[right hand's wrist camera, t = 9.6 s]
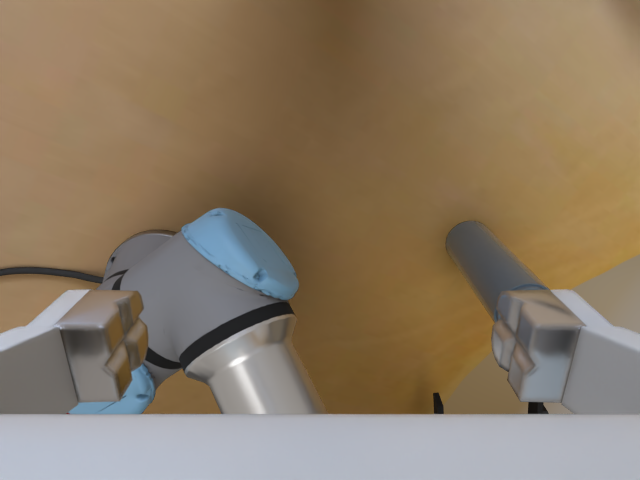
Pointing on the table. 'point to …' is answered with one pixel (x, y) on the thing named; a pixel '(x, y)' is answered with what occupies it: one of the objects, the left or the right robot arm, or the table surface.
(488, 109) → the table surface
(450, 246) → the bottle
